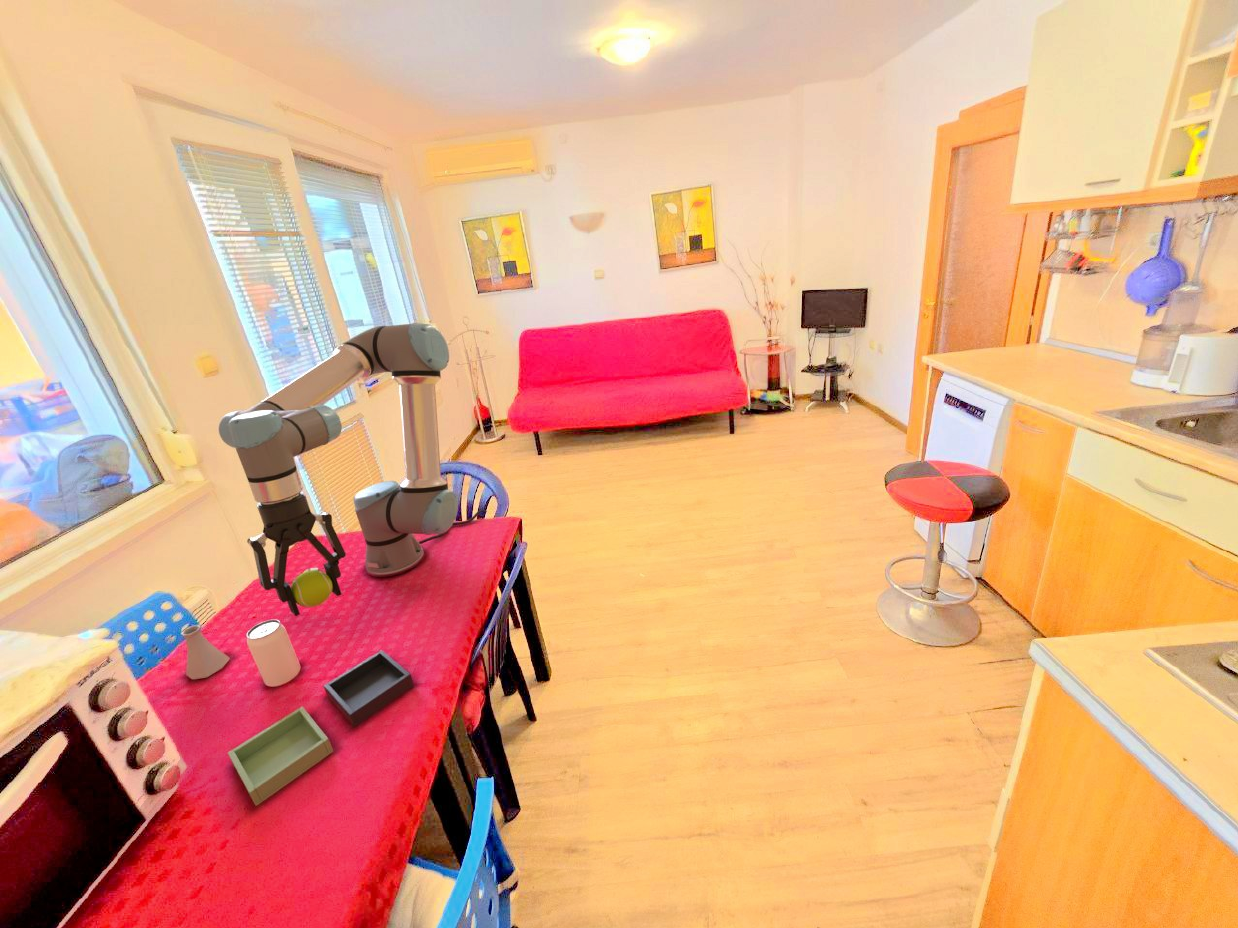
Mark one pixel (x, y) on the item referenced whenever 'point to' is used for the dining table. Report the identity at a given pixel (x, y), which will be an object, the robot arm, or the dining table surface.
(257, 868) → the dining table surface
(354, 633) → the dining table surface
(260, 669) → the can
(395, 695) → the charcoal tray
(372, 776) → the dining table surface
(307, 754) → the green tray
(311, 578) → the tennis ball
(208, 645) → the flask
